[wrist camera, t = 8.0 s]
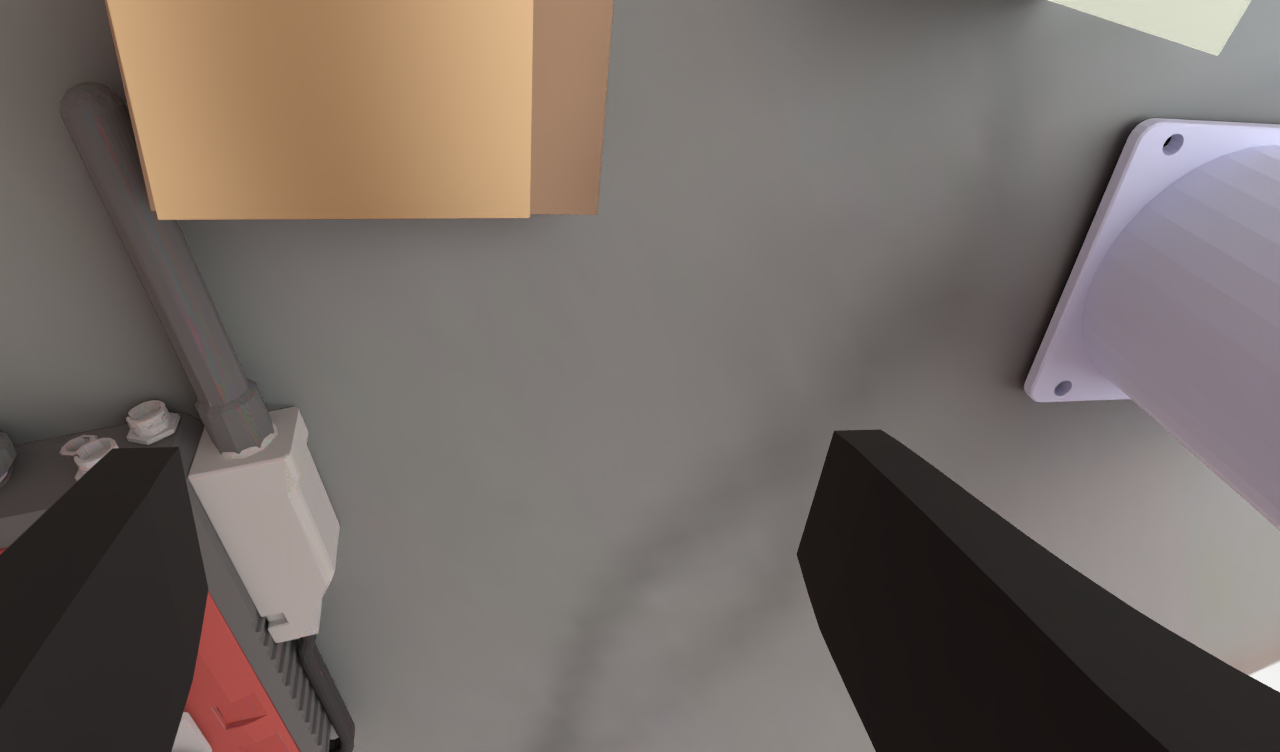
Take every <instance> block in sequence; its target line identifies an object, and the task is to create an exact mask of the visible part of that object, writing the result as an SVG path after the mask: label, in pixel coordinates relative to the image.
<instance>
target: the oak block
mask: <svg viewBox="0 0 1280 752" xmlns="http://www.w3.org/2000/svg"><path fill="white" fill-rule="evenodd" d="M107 2H108V7H109V11H110V15H111V19H112V24H113V28H114V32H115V37H116V41H117V45H118V49H119V54H120V58H121V62H122V67H123V71H124V75H125V80H126V84H127V88H128V92H129V97H130V101H131V105H132V110H133V114H134V118H135V122H136V127H137V131H138V135H139V140H140V144H141V148H142V153H143V157H144V161H145V165H146V170H147V174H148V178H149V183H150V187H151V191H152V195H153V200H154V204H155V208H156V213H157V217H158V220H222V219H414V218H530V180H531V118H532V55H533V0H107Z"/></svg>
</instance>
